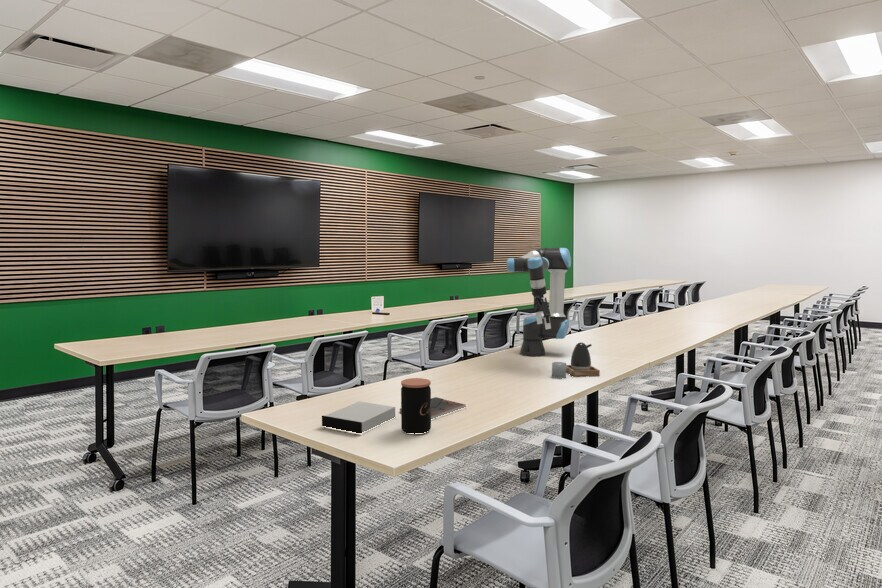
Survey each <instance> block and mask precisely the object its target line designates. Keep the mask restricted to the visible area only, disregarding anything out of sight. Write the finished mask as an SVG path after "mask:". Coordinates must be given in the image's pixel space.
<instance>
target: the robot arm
mask: <svg viewBox="0 0 882 588" xmlns="http://www.w3.org/2000/svg"><path fill="white" fill-rule="evenodd" d="M571 264H572V257H571V253H570V250H569V249H568V248H566V247H540V248H537V249H533V250H531V251H529V252H527V253H526V254H524V255H522V256H519V257H509V258H508V259H507V260H506V270H507V271H508V272H510V273H528V274H529V275H528V276H529V285H530V288H531V295H532V296H533V310H534V312H535V315H533V316H532V315H531V316H526V317H524V318H523V324H522V329H523V330H522V332H523V333H522V344H521V347H520V350H519V354H520V355H521V354H522V356H525V355H526V356H525V357H543V356H546V350H545V346H544V343H543V339H556V340H558V339H559V340H560V339H561V340H563V339H565V338H566V336H567V333H568V332H569V326H570V324H569V319H567V315H565V312H564V309H565V307H564V306H565V284H566V283H565V282H566V281H565V280H566V278H565V277H566V273H567V272H568V269H569V268H571V266H572V265H571ZM546 271H548V272H549V273H550V274H549V299H548V301H549V302H548V301H547V297H544V295H546V294H547V287H546V279H545V272H546ZM541 311H542V312H541ZM542 314H543V315H542Z"/></svg>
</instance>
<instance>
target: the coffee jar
mask: <svg viewBox="0 0 882 588" xmlns="http://www.w3.org/2000/svg"><path fill="white" fill-rule="evenodd" d="M431 383H432V382H431V380H430V379H427V378H423V377H422V378H421V377H420V378H419V377H412V378H406V379H405V378H404V379H403V380H401V382H400V384H401V388H400V408H401V413H400V415H401V416H400V419H401V421H400V422H401V423H400V424H401V430H402V432H403V431H404V432H406V433H414V434H415V433H424V432H427V431H429V432H430V430H431V429H432V421H431V398H432V391H431V389H432V388H431V386H430V385H431ZM404 432H403V433H404ZM406 433H405V434H406Z"/></svg>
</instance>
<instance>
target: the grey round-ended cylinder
mask: <svg viewBox="0 0 882 588" xmlns="http://www.w3.org/2000/svg"><path fill="white" fill-rule="evenodd" d="M566 365H567V363H566V362H562V361H553V362H552V363H551V378H553V379H556V378H557V379H559V380H562V378H564V379H566V378H567V373H566Z"/></svg>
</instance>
